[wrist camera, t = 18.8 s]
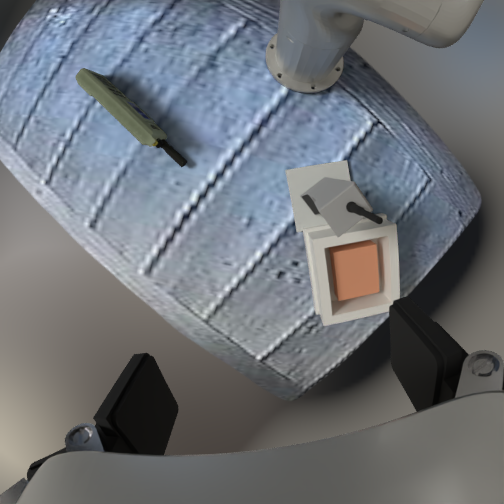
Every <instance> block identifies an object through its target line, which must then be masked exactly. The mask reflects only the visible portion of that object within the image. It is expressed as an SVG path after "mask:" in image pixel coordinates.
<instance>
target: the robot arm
mask: <svg viewBox="0 0 504 504" xmlns="http://www.w3.org/2000/svg"><path fill="white" fill-rule="evenodd" d="M483 1H484V0H281V1H280V14H279V24H278V33H277V34H275V35H274V36H273V37H272V38H271V40H270V42H269V43H268V46H267V49H266V63H267V67H268V69H269V71H270V73H271V75H272V76H273V77H274V79H275V80H277V81H278V82H279V83H280V84H281V85H283V86H284V87H286V88H288V89H290V90H293V91H296V92H300V93H317V92H320V91H323V90H326V89H328V88H329V87H331V86H332V85H333V84H334V83H335V82H336V81H337V80H338V79H339V77H340V76H341V73H342V71H343V65H344V61H343V55H344V54H345V52H346V51H347V50H348V48H349V47H350V46H351V44H352V43H353V42H354V40H355V39H356V38H357V36H358V35H359V34H360V32H361V30H362V27H363V23H364V19H365V20H369V21H372V22H374V23H377V24H379V25H382V26H384V27H387V28H389V29H391V30H394V31H396V32H398V33H401V34H403V35H405V36H407V37H409V38H412V39H414V40H416V41H418V42H420V43H423V44H425V45H427V46H431V47H435V48H446V47H449V46H451V45H453V44H454V43H456V42H457V41H458V40H459V39H460V38H461V37H462V36H463V35H464V33H465V32H466V31H467V29H468V28H469V26H470V24H471V23H472V21H473V19H474V17H475V16H476V14H477V12H478V10H479V8H480V7H481V5H482V3H483ZM271 47H273V49H271ZM336 69H337V70H338V71H336ZM278 76H281V78H278ZM311 87H313V88H314V89H311ZM389 315H390V333H391V334H390V336H391V364H392V368H393V370H394V372H395V374H396V375H397V377H398V379H399V381H400V382H401V384H402V386H403V388H404V390H405V391H406V393H407V395H408V397H409V398H410V400H411V402H412V404H413V406H414V407H415V409H416V411H417V412H415V413H412V414H409V415H406V416H403V417H401V418H397V419H395V420H392V421H388V422H385V423H382V424H379V425H376V426H372V427H369V428H366V429H362V430H358V431H355V432H351V433H347V434H343V435H339V436H335V437H331V438H326V439H322V440H317V441H312V442H307V443H302V444H296V445H291V446H285V447H279V448H272V449H264V450H256V451H247V452H237V453H226V454H225V453H224V454H207V455H164V453H165V450H166V447H167V444H168V441H169V438H170V435H171V431H172V429H173V425H174V422H175V419H176V417H177V413H178V405H177V402H176V400H175V398H174V397H173V395H172V393H171V391H170V389H169V387H168V385H167V383H166V381H165V379H164V377H163V375H162V373H161V371H160V369H159V367H158V365H157V363H156V361H155V359H154V357H153V356H150V355H149V354H148V353H142V354H134V356H133V357H132V358H131V360H130V361H129V363H128V364H127V366H126V367H125V369H124V370H123V372H122V373H121V375H120V377H119V378H118V380H117V381H116V383H115V384H114V386H113V387H112V389H111V391H110V392H109V394H108V395H107V397H106V399H105V400H104V402H103V403H102V405H101V406H100V408H99V410H98V411H97V413H96V414H95V416H94V418H93V419H94V420H95V421H96V425H95V426H94V425H92V424H89V423H83V424H80V425H77V426H75V427H74V428H72V429H71V430H70V431H69V432H68V433H67V435H66V438H65V445H66V447H65V448H64V449H62V450H59V451H57V452H55V453H53V454H51V455H49V456H47V457H45V458H43V459H40V460H38V461H36V462H34V463H32V464H31V465H30V468H29V469H28V472H27V478H28V479H27V480H26V479H25V478H22V479H21V480H20V481H19V482H17V483H16V484H14V485H13V486H12V487H10V488H9V489H8V490H6V491H5V492H4V493H2V494H1V495H0V504H504V363H503V360H502V358H501V357H500V356H499V355H498V354H497V353H495V352H492V351H487V350H481V351H476V352H473V353H472V354H470V355H468V353H466V351H465V350H464V349H463V348H462V347H461V346H460V345H459V344H458V343H457V342H456V341H455V340H454V339H453V338H452V337H451V336H450V335H449V334H448V333H447V332H446V331H445V330H444V329H443V328H442V327H441V326H440V325H439V324H438V323H437V322H434V321H433V320H432V319H431V318H430V317H429V316H428V315H427V314H426V313H425V312H424V311H423V310H422V309H420V307H418V306H417V305H416V304H415V303H414V302H413V301H412V300H411V299H410V298H409V297H408V296H407V297H403V298H400V299H397V300H394V301H393V305H390V306H389Z"/></svg>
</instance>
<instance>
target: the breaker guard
mask: <svg viewBox="0 0 504 504" xmlns="http://www.w3.org/2000/svg"><path fill="white" fill-rule="evenodd" d="M375 215H377V216H380V217H382V219H383V222H382V224H377V223H375V222H373V221H371V220H369V219H368V218H366V217H364V218H363V219H362V220H360V221H359V222H358V223H356V224H355V225H354V226H353V227H351V228H350V229H349V230H348V231H346V232H345V233H344V234H342V235H341V236H340V237H337V236H336V234H335V233H334V231H333V230H332V229H331V227H330V226H329V225H328V223H327V224H322V225H316V226H311V227H305V228H303V235H304V241H305V247H306V254H307V260H308V267H309V273H310V280H311V287H312V294H313V301H314V309H315V312H316V315H318V314H320V316H321V319H322V322H323V325H324V326H326V325H331V324H336V323H341V322H345V321H350V320H354V319H359V318H363V317H368V316H372V315H376V314H380V313H384V312H388V311H389V306H390V305H393V301H394V300H397V299H400V282H399V255H398V238H397V226H396V224H395V223H393V222H391V221H389V220H387V215H385V214H383V213H379V214H375ZM367 240H371V241H372V242H374V243H375V244H376V246H377V258H378V273H379V292H377V293H373V294H369V295H364V296H360V297H355V298H350V299H346V300H341V301H338V299H337V297H336V295H335V293H334V284H333V275H332V267H331V259H330V251H329V248H330V247H335V246H341V245H346V244H351V243H356V242H362V241H367Z"/></svg>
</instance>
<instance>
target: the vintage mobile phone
mask: <svg viewBox="0 0 504 504" xmlns="http://www.w3.org/2000/svg"><path fill="white" fill-rule="evenodd" d="M300 197H301V198H302V199H303V201H304V202H305V203H306V204H307V206H308V207H309V208H310V210H311V211H312V212H313V214H314V215H318V214H321V215H322V216H323V218H324V219H325V220H326V222H327V223H328V225H329V226H330V227H331V229H332V230H333V231H334V233H335V234H336V236H337V237H340V236H341V235H342V234H344V233H345V232H346V231H348V230H349V229H350V228H351V227H353V226H354V225H355V224H356V223H358V222H359V221H360V220H362V219H363V218H364V217H366V218H368V219H369V220H371V221H373V222H375V223H377V224H382V222H383V219H382V217H380V216H377V215H375V214H373V213H371V212H372V211H373V209H372V207H371V205H370V204H369V202H368V201H367V199H366V198H365V197H364V195H363V194H362V192H361V191H360V189H359V188H358V186H357V185H356V183H355V182H352V181H346V180H340V179H334V178H327V177H324V178H323V179H321V180H320V181H319V182H317V183H316V184H315V185H313V186H312V187H311V188H310V189H308V190H307V191H306V192H304V193H303V194H302V195H301V196H300Z"/></svg>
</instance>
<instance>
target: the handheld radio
mask: <svg viewBox="0 0 504 504" xmlns="http://www.w3.org/2000/svg"><path fill="white" fill-rule="evenodd" d="M76 80H77V83H78V84H79V85H80V86H81V87H82V88H83V89H84V90H85V91H86V92H87V93H88V94H89V95H90V96H93V97H94V98H95V99H96V100H97V101H98V102H99V103H100V104H101V105H102V106H103V107H104V108H106V109H107V110H108V111H109V112H110V113H111V114H112V115H113V116H114V117H115V118H116V119H117V120H118V121H119V122H120V123H121V124H122V125H123V126H124V127H125V128H126V129H127V130H128V131H129V132H130V133H131V134H132V135H133V136H134V137H135V138H136V139H137V140H138V141H139V142H140V143H141V144H143V145H148V146H150V147H151V146H152V145H153V146H156V147H157V148H160V147H161V148H163V149H164V150H165V152H166V153H167V154H168V155H169V156H170V157H172V158H173V159H174V160H175V161H176V162H177V163H178V164H179V165H180V166H181V167H183V166H185V165H186V163H187V161H186V160H185V159H184V158H183V157H182V156H181V155H180V154H179V153H178V152H177V151H176V150H175V149H174V148H173V147H172V146H170V145H169V144H168V143H167V142H166V141H165V140H166V139H167V135H166V134H165V132H164V131H163V130H162V129H161V128H160V127H158V126H157V125H156V124H155V123H154V121H153V120H152V119H151V118H150V117H149V116H148V115H147V114H146V113H145V112H144V111H143V110H142V109H140V108H139V107H138V106H137V105H136V104H135V103H133V102H132V101H131V100H129V99H128V98H127V97H126V96H125V95H124V94H123V93H122V92H121V91H119V90H118V89H117V88H116V87H115V86H114V85H113V84H112V83H111V82H109V81H108V80H107V79H106V78H105V77H104V76H103V75H100V74H98V73H95V72H93V71H90V70H88V69H85V68H83V69H81V70H80V71H79V72H78V74H77V75H76Z"/></svg>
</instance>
